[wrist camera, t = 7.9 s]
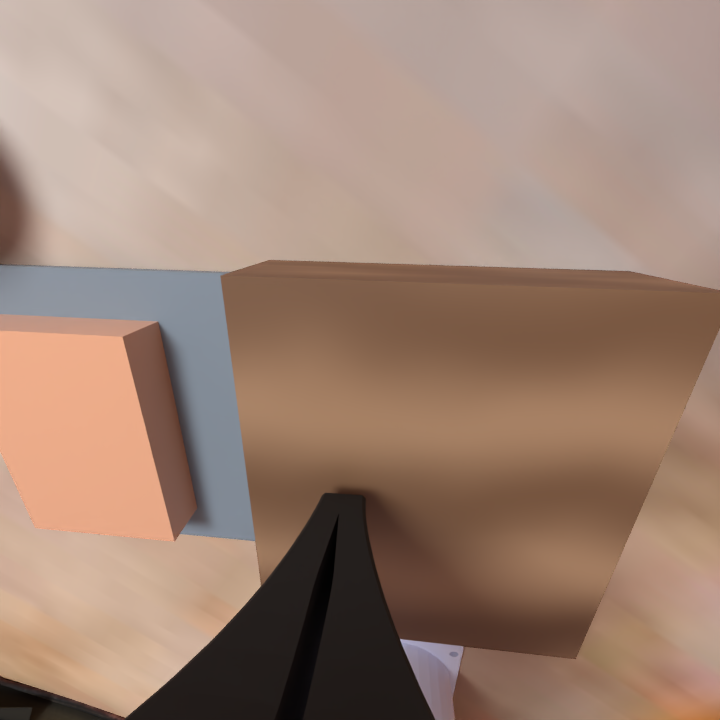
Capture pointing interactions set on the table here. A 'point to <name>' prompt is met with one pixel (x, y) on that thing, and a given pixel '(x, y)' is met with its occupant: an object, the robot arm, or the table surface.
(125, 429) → the block
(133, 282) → the mat
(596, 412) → the board
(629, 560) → the table surface
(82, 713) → the diary
